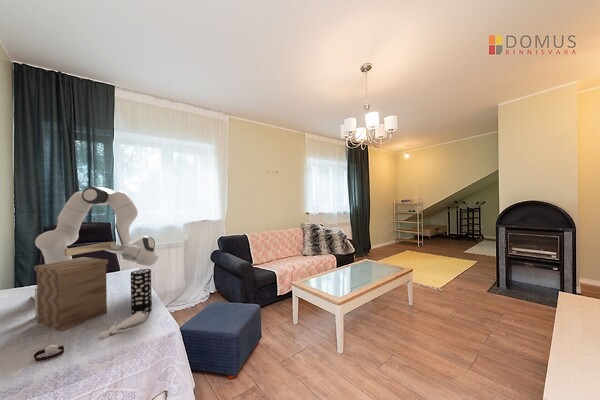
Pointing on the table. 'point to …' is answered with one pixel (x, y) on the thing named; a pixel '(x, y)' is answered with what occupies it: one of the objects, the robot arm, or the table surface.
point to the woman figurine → (125, 324)
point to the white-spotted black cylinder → (141, 291)
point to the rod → (87, 248)
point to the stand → (71, 292)
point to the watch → (49, 350)
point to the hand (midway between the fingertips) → (107, 244)
